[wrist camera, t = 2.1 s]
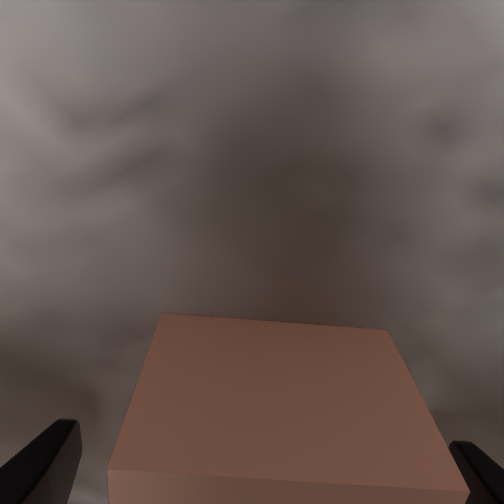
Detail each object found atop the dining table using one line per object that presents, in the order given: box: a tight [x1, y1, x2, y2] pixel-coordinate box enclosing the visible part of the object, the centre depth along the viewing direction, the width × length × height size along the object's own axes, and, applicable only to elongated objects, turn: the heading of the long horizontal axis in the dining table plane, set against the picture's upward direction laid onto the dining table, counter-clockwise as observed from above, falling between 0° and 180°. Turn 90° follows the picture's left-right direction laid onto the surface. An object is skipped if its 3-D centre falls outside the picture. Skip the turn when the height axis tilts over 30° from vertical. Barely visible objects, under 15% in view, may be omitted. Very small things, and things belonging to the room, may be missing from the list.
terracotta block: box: [107, 313, 470, 504], centre depth 9 cm, size 5×5×4 cm
